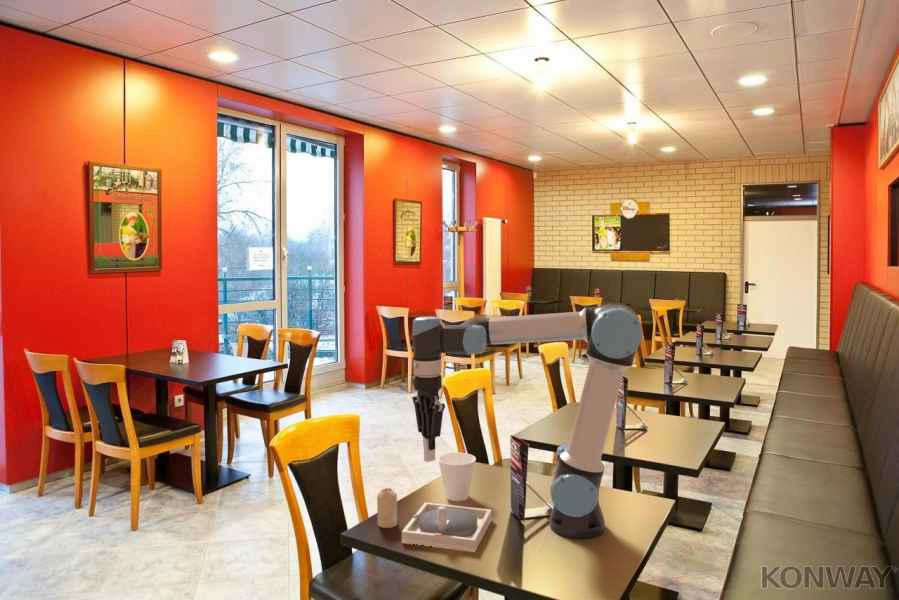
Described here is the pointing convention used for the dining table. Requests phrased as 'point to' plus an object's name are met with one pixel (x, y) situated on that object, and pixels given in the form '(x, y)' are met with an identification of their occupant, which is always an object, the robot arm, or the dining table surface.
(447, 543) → the dial plate
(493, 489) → the dining table surface
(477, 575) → the dining table surface
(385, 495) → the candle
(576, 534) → the robot arm
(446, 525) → the dial
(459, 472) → the cup
